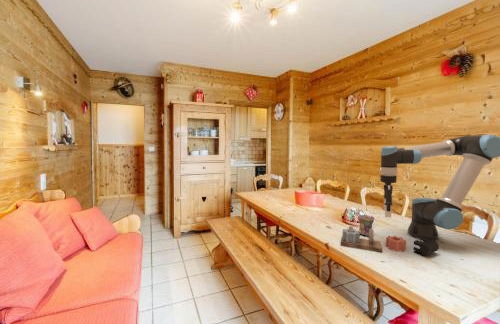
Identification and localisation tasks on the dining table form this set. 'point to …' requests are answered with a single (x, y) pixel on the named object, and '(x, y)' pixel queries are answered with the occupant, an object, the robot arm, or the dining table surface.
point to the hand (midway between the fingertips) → (387, 213)
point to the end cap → (425, 246)
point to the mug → (365, 224)
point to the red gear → (395, 243)
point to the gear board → (364, 242)
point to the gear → (351, 236)
